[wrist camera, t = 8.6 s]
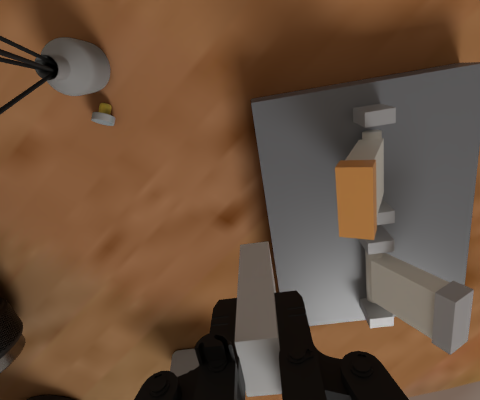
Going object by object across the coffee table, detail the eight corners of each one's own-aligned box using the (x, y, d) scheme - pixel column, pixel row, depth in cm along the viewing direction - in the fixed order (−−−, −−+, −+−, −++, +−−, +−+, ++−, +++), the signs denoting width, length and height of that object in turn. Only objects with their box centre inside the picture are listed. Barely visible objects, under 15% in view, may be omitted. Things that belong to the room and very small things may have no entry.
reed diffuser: (44, 28, 31) (-270, -33, 12) (109, 1, 30) (-124, -111, 11) (95, 131, 34) (-86, 207, 16) (155, 110, 33) (37, 163, 15)
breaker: (360, 299, 35) (450, 357, 27) (359, 251, 33) (455, 299, 25) (376, 289, 36) (467, 343, 28) (375, 243, 34) (474, 286, 26)
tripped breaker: (360, 191, 32) (339, 240, 24) (358, 130, 30) (334, 163, 22) (387, 192, 31) (373, 243, 23) (387, 128, 28) (372, 162, 21)
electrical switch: (238, 340, 45) (236, 410, 36) (245, 364, 47) (245, 435, 39) (172, 349, 46) (156, 419, 37) (182, 372, 48) (170, 443, 40)
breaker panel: (281, 305, 42) (287, 350, 35) (250, 99, 32) (251, 107, 26) (442, 287, 40) (480, 330, 34) (459, 62, 31) (517, 61, 24)
